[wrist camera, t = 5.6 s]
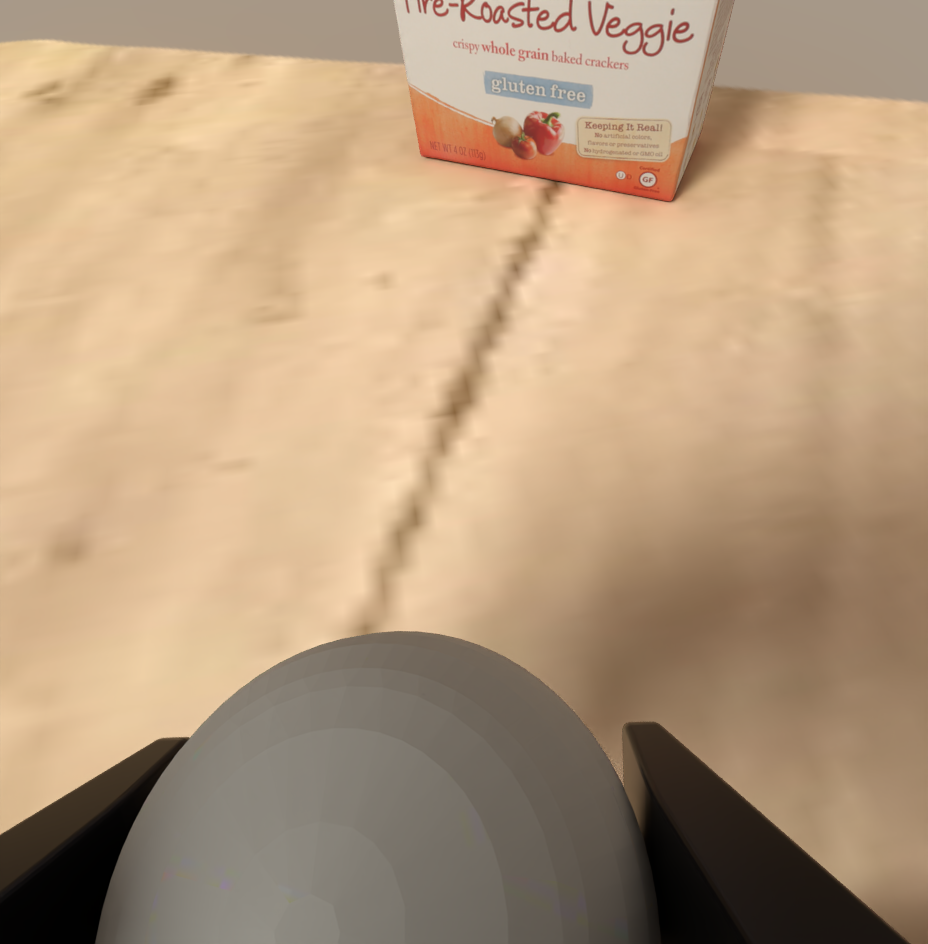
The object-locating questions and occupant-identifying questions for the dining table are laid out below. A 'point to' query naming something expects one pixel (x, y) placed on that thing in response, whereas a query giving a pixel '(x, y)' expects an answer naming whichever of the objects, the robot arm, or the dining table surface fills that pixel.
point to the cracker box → (564, 86)
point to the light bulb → (386, 812)
